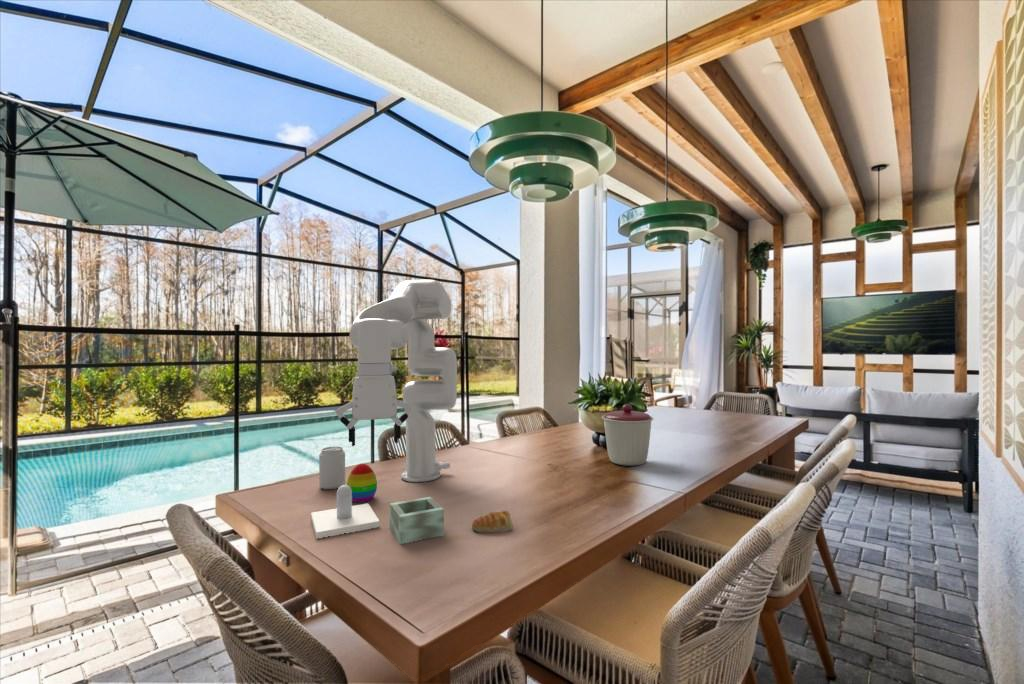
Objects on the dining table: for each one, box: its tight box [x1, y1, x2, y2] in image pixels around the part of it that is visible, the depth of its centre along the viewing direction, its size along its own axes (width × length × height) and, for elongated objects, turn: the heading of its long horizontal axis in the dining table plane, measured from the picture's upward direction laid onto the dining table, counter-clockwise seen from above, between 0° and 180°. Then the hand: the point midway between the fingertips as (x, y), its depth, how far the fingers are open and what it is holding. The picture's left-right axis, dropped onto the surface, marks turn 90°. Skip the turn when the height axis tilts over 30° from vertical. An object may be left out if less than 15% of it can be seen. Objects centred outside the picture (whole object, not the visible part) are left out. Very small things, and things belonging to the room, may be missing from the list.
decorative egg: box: [346, 463, 378, 503], centre depth 133 cm, size 8×8×10 cm
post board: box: [310, 484, 380, 540], centre depth 116 cm, size 14×14×9 cm
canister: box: [601, 403, 654, 467], centre depth 171 cm, size 18×18×21 cm
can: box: [318, 445, 346, 490], centre depth 145 cm, size 8×8×12 cm
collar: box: [389, 496, 445, 545], centre depth 110 cm, size 10×10×6 cm
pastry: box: [471, 509, 514, 534], centre depth 112 cm, size 9×7×4 cm
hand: (374, 443), depth 111 cm, fingers open, 9 cm apart
